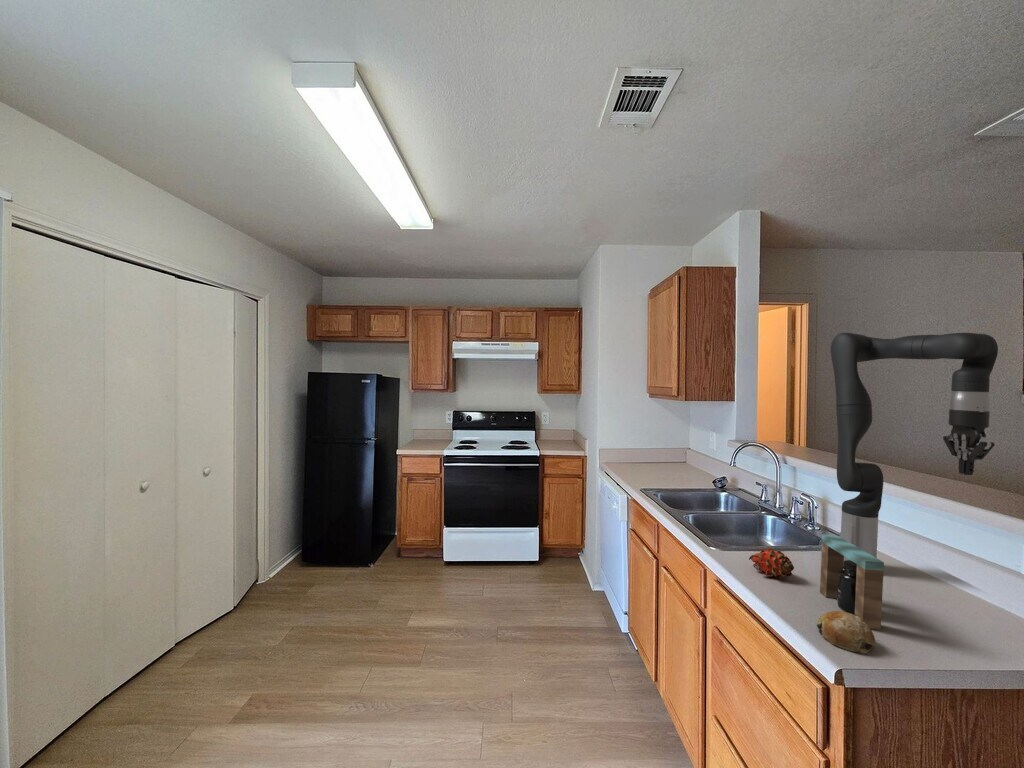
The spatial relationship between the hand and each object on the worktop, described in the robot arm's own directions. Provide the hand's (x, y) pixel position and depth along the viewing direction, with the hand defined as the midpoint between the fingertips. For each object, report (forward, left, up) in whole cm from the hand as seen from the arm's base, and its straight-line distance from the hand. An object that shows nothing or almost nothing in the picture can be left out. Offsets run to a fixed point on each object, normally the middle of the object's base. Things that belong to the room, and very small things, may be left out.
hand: (965, 474), depth 119 cm
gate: (+8, -32, -35) cm, 48 cm away
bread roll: (+23, -42, -35) cm, 59 cm away
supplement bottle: (+8, -31, -35) cm, 47 cm away
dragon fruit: (-10, -43, -35) cm, 57 cm away
